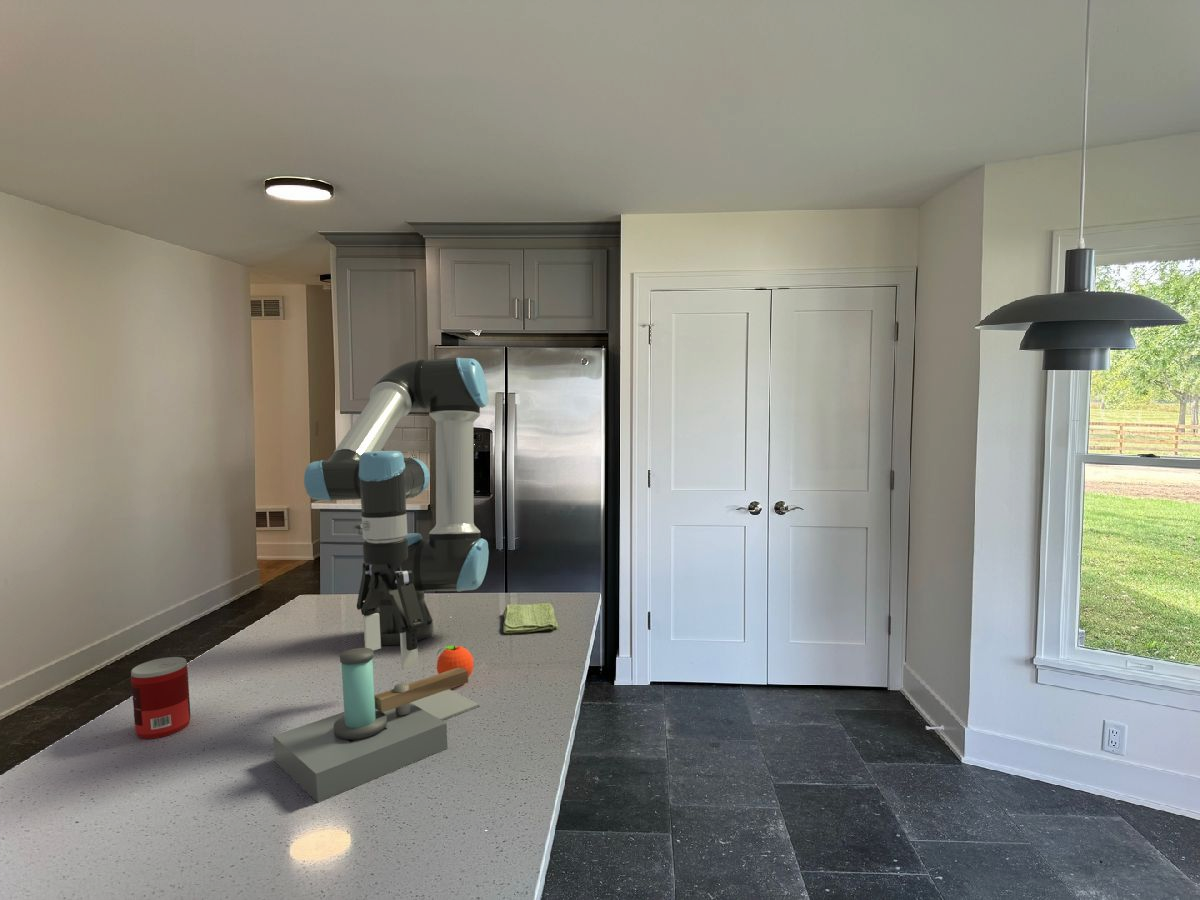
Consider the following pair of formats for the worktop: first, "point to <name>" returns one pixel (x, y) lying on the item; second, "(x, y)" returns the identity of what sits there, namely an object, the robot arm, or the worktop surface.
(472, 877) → the worktop surface
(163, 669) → the canned food
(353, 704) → the plug
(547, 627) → the washcloth
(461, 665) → the clementine
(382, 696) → the brown wooden lever
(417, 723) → the socket block
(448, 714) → the mat
